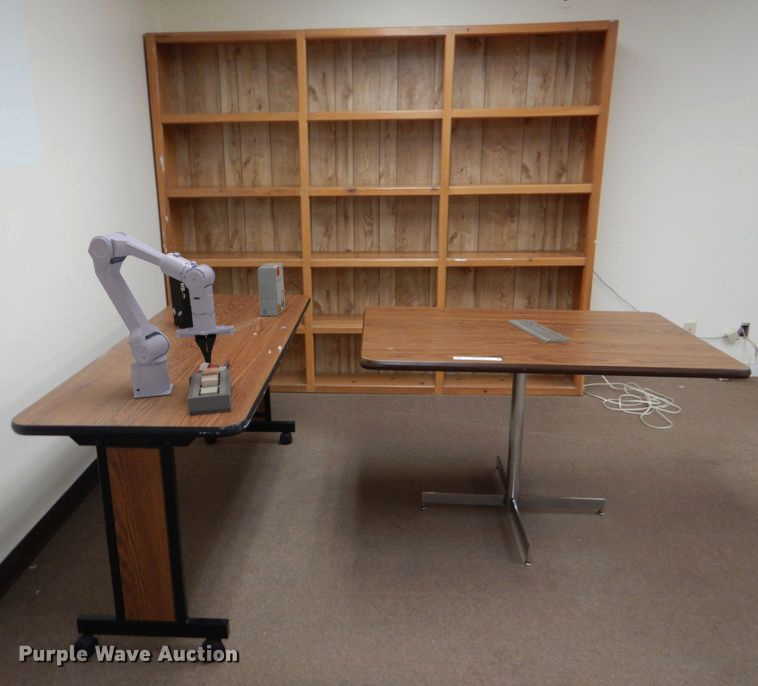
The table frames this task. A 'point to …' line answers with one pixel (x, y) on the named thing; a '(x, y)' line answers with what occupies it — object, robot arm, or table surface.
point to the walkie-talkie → (207, 366)
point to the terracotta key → (210, 372)
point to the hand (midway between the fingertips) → (208, 361)
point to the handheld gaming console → (181, 304)
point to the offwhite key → (209, 381)
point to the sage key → (209, 390)
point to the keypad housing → (213, 401)
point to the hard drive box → (271, 289)
